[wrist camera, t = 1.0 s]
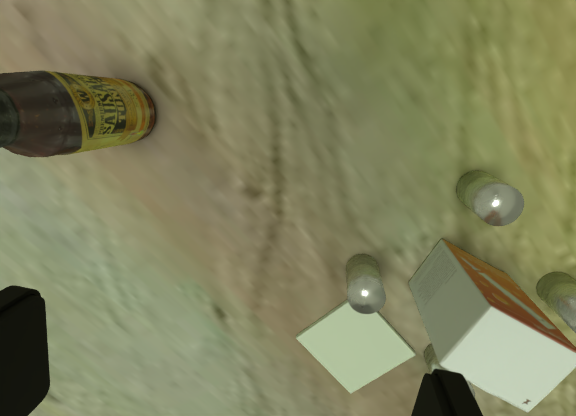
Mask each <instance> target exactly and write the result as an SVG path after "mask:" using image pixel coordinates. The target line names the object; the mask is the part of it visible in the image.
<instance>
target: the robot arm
mask: <svg viewBox="0 0 576 416" xmlns="http://www.w3.org/2000/svg"><path fill="white" fill-rule="evenodd" d="M49 387H50V376H49V360H48V343H47V327H46V311H45V301H44V299H43V298H42V297H41V295H40V293H39V291H37V290H35V289H30V288H25V287H20V286H9V287H6V288H5V289H3V290H1V291H0V416H28V415H29V414H30V413H31V412H32V411H33V410H34V409H35V408H36V407H37V406H38V405H39V404H40V403H41V402H42V400H43V399H44V398H45V396H46V395H47V393H48V390H49ZM411 416H483V415H482V413H481V411H480V408H479V406H478V404H477V402H476V400H475V398H474V396H473V394H472V392H471V390H470V388H469V386H468V384H467V381H466V379H465V378H464V376H463V375H462V374H461V373H457V372H452V371H447V370H442V369H434V370H433V371H432V374H428V373H426V374H425V375H424V377H423V379H422V383H421V386H420V389H419V392H418V396H417V399H416V402H415V406H414V409H413V412H412V415H411Z"/></svg>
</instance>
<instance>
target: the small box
mask: <svg viewBox="0 0 576 416" xmlns="http://www.w3.org/2000/svg"><path fill="white" fill-rule="evenodd" d="M409 286H410V289H411V291H412V294H413V296H414V299H415V302H416V304H417V307H418V310H419V312H420V315H421V317H422V320H423V323H424V325H425V328H426V330H427V333H428V335H429V338H430V341H431V343H432V346H433V348H434V351H435V354H436V356H437V359H438V362H439V364H440V365H441V366H442V367H444V368H445V369H447V370H449V371H452V372H457V373H461V374H462V375H463V376H464V378H465V379H466V380H467V381H469V382H470V383H472V384H474V385H476V386H477V387H479V388H480V389H482V390H484V391H486V392H488V393H490V394H492V395H494V396H496V397H499V398H501V399H502V400H504V401H506V402H508V403H510V404H512V405H514V406H516V407H518V408H520V409H522V410H523V411H525V412H529V411H530V410H531V409H532V408H533V407H535V406H536V405H537V404H538V403H539V402H540V401H541V400H542V399H543V398H544V397H545V396H546V395H548V394H549V393H550V392H551V391H552V390H553V389H554V388H555V387H556V386H557V385H558V384H559V383H560V382H561V381H562V380H563V379H564V378H565V377H566V376H567V375H568V374H569V373H570V372H571V371H572V370H573V369H574V368H575V367H576V347H575V346H574V345H573V344H572V343H571V342H570V341H569V340H568V339H567V338H566V337H565V336H564V335H563V334H562V333H561V331H560V330H559V329H558V328H557V327H556V326H555V325H554V324H553V323H552V322H551V321H550V320H549V319H548V318H547V316H546V315H545V314H544V313H543V312H542V311H541V310H540V309H539V308H538V307H537V306H536V305H535V304H534V303H533V301H532V300H531V299H530V298H529V297H528V296H527V295H526V294H525V293H524V292H523V291H522V290H521V289H520V287H519V286H518V285H517V284H516V283H515V282H514V281H513V280H512V279H511V278H510V277H509V276H508V275H507V274H506V273H504V272H502V271H500V270H498V269H496V268H494V267H492V266H490V265H489V264H487V263H485V262H483V261H481V260H479V259H478V258H476V257H474V256H472V255H470V254H469V253H467V252H465V251H463V250H461V249H460V248H458V247H456V246H454V245H453V244H451V243H449V242H447V241H446V240H444V239H441V240H440V241H439V242H438V244H437V245H436V246H435V248H434V249H433V250H432V252H431V253H430V254H429V256H428V257H427V258H426V260H425V261H424V262H423V264H422V265H421V266H420V268H419V269H418V270H417V272H416V273H415V274H414V276H413V277H412V278H411V280H410V281H409Z"/></svg>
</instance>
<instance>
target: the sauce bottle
mask: <svg viewBox="0 0 576 416" xmlns="http://www.w3.org/2000/svg"><path fill="white" fill-rule="evenodd" d="M154 121H155V113H154V105H153V103H152V101H151V98H150V97H149V96H148V95H147V94H146V92H144V91H143V90H142V89H141V88H140V87H138V86H137V85H136V84H134V83H131V82H128V81H125V80H122V79H115V78H105V77H95V76H86V75H76V74H67V73H59V72H50V71H30V72H15V73H2V74H0V148H1V147H3V148H5V149H7V150H9V151H11V152H12V153H15V154H20V155H24V156H27V157H49V156H54V155H68V154H74V153H79V152H84V151H90V150H96V149H102V148H107V147H112V146H118V145H124V144H129V143H132V142H135V141H137V140H140V139H143V138H144V137H145V136H147V135H148V134H149V132H150V131H151V130H152V128H153V125H154Z"/></svg>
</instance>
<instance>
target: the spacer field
mask: <svg viewBox="0 0 576 416" xmlns="http://www.w3.org/2000/svg"><path fill="white" fill-rule="evenodd" d="M456 193H457V196H458V198H459V199H460V200H461V201H462V202H463V203H464V204H465V205H466V206H468V207H469V208H470V209H471V210H472V211H473V212H474V213H476V214H477V215H478V216H479V217H480V218H481V219H482V220H484V221H485V222H486V223H488V224H490V225H493V226H504V225H507V224H510V223H512V222H513V221H515V220H516V219H517V218H518V217H519V216H520V214H521V213H522V211H523V208H524V199H523V196H522V194H521V193H520V192H519V191H518V190H517V189H515V188H513V187H512V186H510V185H508V184H506V183H504V182H502V181H500V180H499V179H497V178H495V177H493V176H491V175H489V174H488V173H486V172H483V171H471V172H468V173H466V174H465V175H463V176H462V177H461V178H460V180H459V181H458V183H457V186H456ZM346 279H347V295H348V302H349V305H350V306H351V308H352V309H353V310H355V311H356V312H358V313H361V314H372V313H375V312H377V311H379V310H380V309H381V308H382V307H383V306H384V304H385V300H386V296H385V292H384V288H383V284H382V280H381V276H380V271H379V267H378V264H377V262H376V260H375V259H374V258H373V257H371V256H369V255H366V254H358V255H355V256H353V257H352V258H350V259H349V261H348V262H347V265H346ZM537 294H538V295H539V297H540V298H541V299H542V300H543V301H544V302H545V303H546V304H547V305H548V306H549V307H550V308H551V309H552V310H553V311H554V312H555V313H556V314H557V315H558V316H559V317H560V318H561V319H562V320H563V321H564V322H565V323H566V324H567V325H568V326H569V327H570V328H571V329H572V330H573V331H574V332H575V333H576V281H575V280H574V279H572V278H571V277H570V276H569V275H567V274H565V273H562V272H553V273H549V274H547V275H545V276H544V277H542V278H541V279H540V281H539V282H538V284H537ZM424 357H425V360H426V363H427V366H428V369H429V372H430V374H432V371H433V370H434V369H442V370H447V369H445V368H444V367H442V366H441V365H440V364H439V362H438V359H437V356H436V354H435V351H434V348H433V346H432V343H431V344H430V345H428V346H427V347H426V349H425V351H424ZM447 371H449V370H447ZM466 381H467V380H466ZM467 384H468V386H469V388H470V390H471V392H472V394H473V396H474V398H475V392H474V390H473V387H472V385H471V383H470V382H469V381H467Z"/></svg>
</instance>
